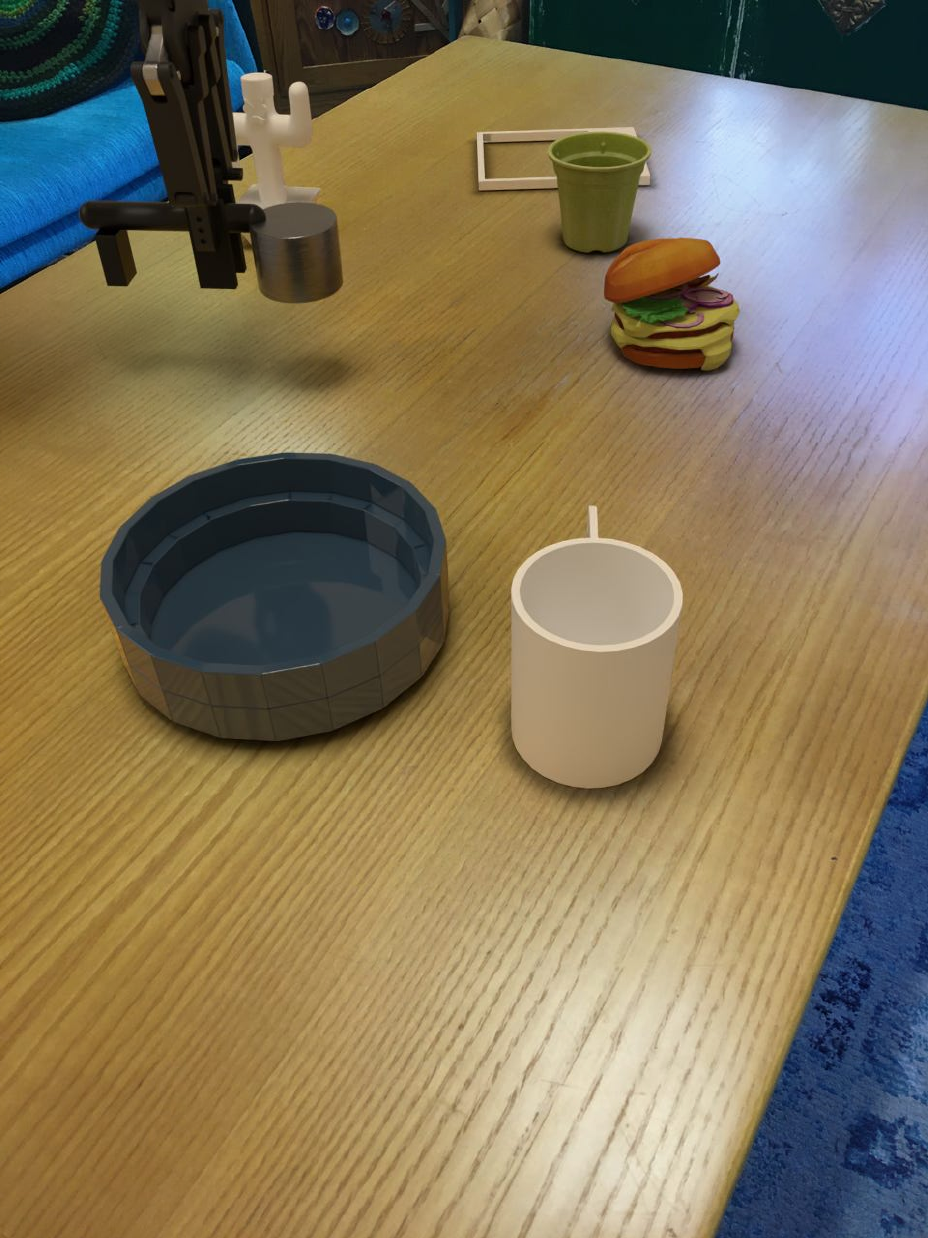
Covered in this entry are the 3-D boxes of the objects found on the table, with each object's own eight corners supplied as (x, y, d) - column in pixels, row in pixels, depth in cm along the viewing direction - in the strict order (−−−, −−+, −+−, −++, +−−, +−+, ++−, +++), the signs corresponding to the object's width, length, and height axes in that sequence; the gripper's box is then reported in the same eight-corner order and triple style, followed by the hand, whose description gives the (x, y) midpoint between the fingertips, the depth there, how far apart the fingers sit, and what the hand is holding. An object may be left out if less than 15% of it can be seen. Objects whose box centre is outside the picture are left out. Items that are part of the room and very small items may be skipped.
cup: (652, 629, 63) (670, 493, 57) (667, 791, 55) (690, 653, 48) (515, 626, 64) (515, 491, 57) (508, 786, 55) (508, 649, 48)
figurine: (248, 219, 109) (220, 60, 99) (336, 224, 107) (317, 63, 97) (221, 249, 104) (189, 85, 93) (313, 256, 102) (291, 89, 92)
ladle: (350, 266, 83) (342, 188, 79) (335, 305, 78) (326, 224, 74) (111, 260, 84) (91, 184, 80) (82, 298, 80) (60, 219, 76)
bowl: (78, 740, 59) (46, 663, 54) (180, 521, 72) (160, 447, 68) (428, 759, 57) (421, 683, 53) (463, 531, 71) (460, 457, 67)
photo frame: (650, 173, 111) (478, 179, 111) (649, 184, 112) (478, 190, 112) (633, 124, 122) (476, 130, 122) (633, 135, 122) (476, 140, 123)
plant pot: (525, 242, 103) (526, 150, 97) (589, 212, 107) (593, 122, 102) (599, 271, 98) (605, 176, 92) (663, 239, 102) (672, 146, 97)
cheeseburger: (680, 395, 82) (668, 265, 76) (584, 373, 90) (567, 254, 84) (765, 348, 86) (759, 222, 81) (667, 331, 94) (655, 215, 89)
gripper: (180, -59, 59) (248, 328, 75) (246, -112, 70) (293, 236, 86) (50, -59, 60) (145, 325, 76) (135, -112, 70) (202, 234, 87)
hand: (223, 277), depth 81 cm, fingers closed on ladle, 2 cm apart
